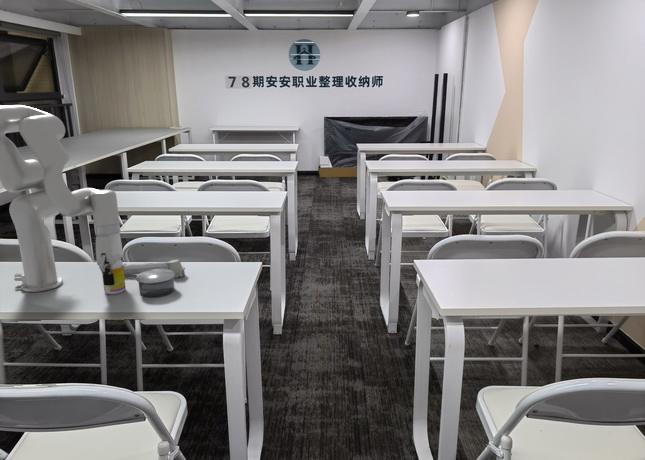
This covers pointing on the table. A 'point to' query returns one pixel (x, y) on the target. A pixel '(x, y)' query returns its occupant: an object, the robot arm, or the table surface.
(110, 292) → the supplement bottle
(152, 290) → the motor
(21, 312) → the table surface
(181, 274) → the light grey long piece
